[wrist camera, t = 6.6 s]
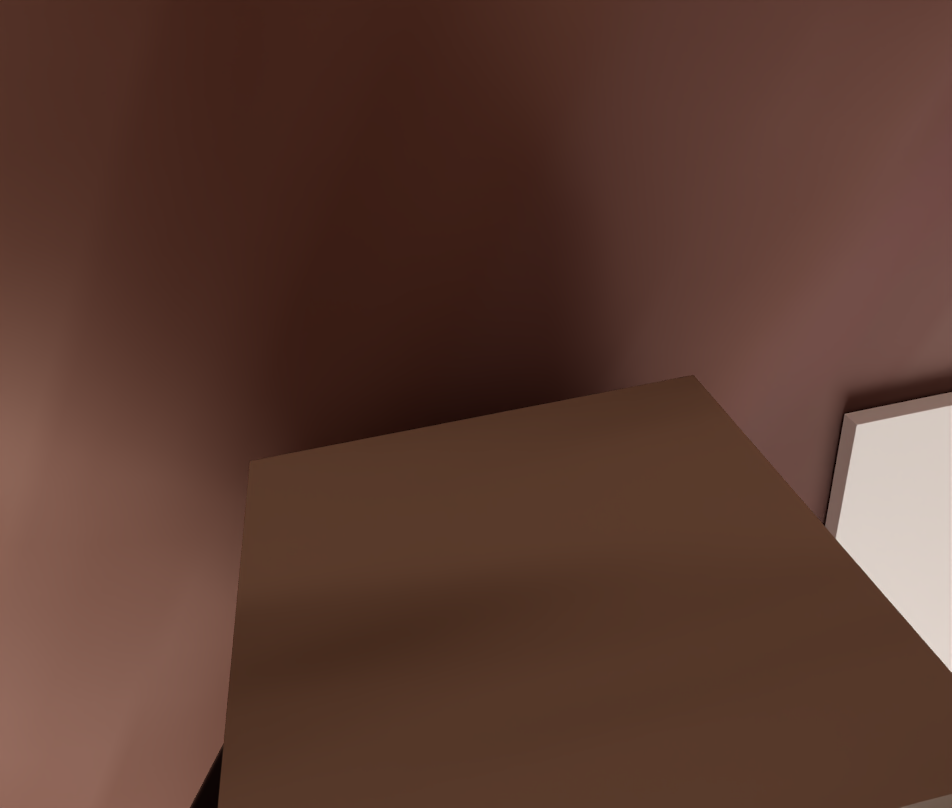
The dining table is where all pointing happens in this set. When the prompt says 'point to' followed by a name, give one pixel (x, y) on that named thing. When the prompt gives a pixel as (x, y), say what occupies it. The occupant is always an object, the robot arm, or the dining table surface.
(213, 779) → the robot arm
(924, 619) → the letter
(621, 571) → the walnut block
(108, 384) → the dining table surface
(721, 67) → the dining table surface
